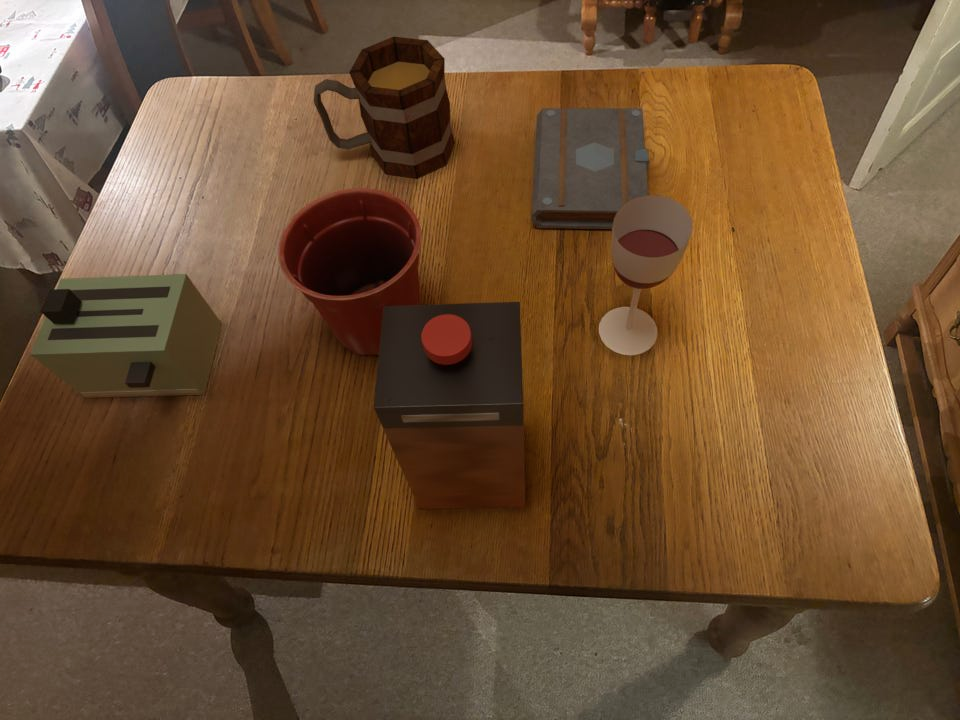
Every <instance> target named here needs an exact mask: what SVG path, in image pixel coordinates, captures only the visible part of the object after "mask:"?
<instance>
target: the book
mask: <svg viewBox="0 0 960 720" xmlns="http://www.w3.org/2000/svg"><path fill="white" fill-rule="evenodd" d="M535 123H536V124H535V142H534V158H533V159H534V161H533V175H532V176H533V178H532V195H531V212H530V213H531V215H530V217H531V218H530V221H531V222H532V223H533V224H534V226H535V227H536V228H537V229H578V230H612V228H613V222H614V218H615V216H616V214H617V212H618V211H619V209H620V208H621V207H622V206H623V205H625V204H626V203H627V202H629V201H631V200H633V199H635V198H638V197H642V196H648V195H649V187H648V170H649V165H650V154H649V153H650V152H649V151H650V150H649V149H647V148H646V141H645V126H644V125H645V123H644V109H643V108H641V107H639V108H638V107H637V108H634V107H633V108H632V107H631V108H628V107H627V108H626V107H625V108H624V107H623V108H621V107H618V108H617V107H615V108H613V107H612V108H611V107H609V108H608V107H607V108H606V107H603V108H602V107H596V108H595V107H593V108H592V107H591V108H587V107H584V108H582V107H580V108H579V107H578V108H577V107H572V108H571V107H567V108H564V107H563V108H562V107H558V108H556V107H555V108H553V107H552V108H551V107H548V108H546V107H544V108H543V107H542V109H540V111H539V112H538V113H537V114H536V122H535Z"/></svg>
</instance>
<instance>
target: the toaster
mask: <svg viewBox="0 0 960 720" xmlns="http://www.w3.org/2000/svg"><path fill="white" fill-rule="evenodd" d="M56 289H70V290H71V291H72V292H73V293H74V294H75V295H76V296H77V297H78V298H79V299H80V300H81V301H82V303H81V305H80V308H79V311H78V313H77V316H76V318H75V321H74V323H73V324H53V323H52V322H51V321H50V320H49V319H48V318H47V317H46V316H45V315H44V316H45V317H44V319H43V322H42V324H41V326H40V328H39V332H38V334H37V336H36V339H35V340H34V343H33V346H32V348H31V351H30V353H29V355H30V356H31V357H32V358H33V359H35V360H36V361H37V362H39V363H40V364H41V365H42V366H44V367H45V369H48V370H49V371H50V372H51V373H53V374H54V375H55V376H56V377H57V378H58V379H60V380H61V381H63V382H64V383H66V385H68V387H70V388H72V389H73V390H74V391H76V393H78V394H79V395H80V396H82V397H83V398H85V399H90V398H91V399H93V398H127V397H128V398H130V397H133V398H134V397H166V396H167V397H169V396H203V395H204V396H205V395H206V391H207V387H208V382H209V378H210V375H211V370H212V365H213V362H214V359H215V355H216V350H217V345H218V343H219V342H218V341H219V337H220V333H221V328H222V325H223V323H222V322H221V320H220V319H219V317H218V316H217V315H216V313H215V312H214V310H213V309H212V307H211V306H210V305H209V303H208V302H207V301H206V299H205V298H204V296H203V295H202V294H201V292H200V291H199V289H198V288H197V287H196V285H195V284H194V283H193V281H192V280H191V279H190V277H189V276H188V274H186V273H178V274H177V273H176V274H175V273H174V274H173V273H172V274H151V275H150V274H149V275H148V274H147V275H125V276H97V277H95V276H93V277H69V278H68V277H67V278H60V279H59V282H58V285H57V286H56Z"/></svg>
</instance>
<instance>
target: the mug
mask: <svg viewBox="0 0 960 720" xmlns="http://www.w3.org/2000/svg"><path fill="white" fill-rule="evenodd" d="M445 59H446V58H445V57H444V56H443V55H442V54H441V52H439V50H438V49H436V47H435V46H434V45H432V43H431V42H430V41H429V40H428V39H420V38H410V37H403V36H391V37H389V38H387V39H384V40H381V41H379V42H376V43H374V44H372V45H370V46H366V47H363V48H362V49H361V50H360V51H359V53H358V55H357V57H356V60H355V61H354V62H353V64H352V66H351V68H350V70H349V72H348V73H349V76H350V78H351V80H352V83H353V85H354V87H350V86H347V85H345V84H344V83H342V82H340V80H339V81H338V80H334V79H328V78H325V79H324V80H322V81H320V82H318V83H317V84H315V85H314V90H313V91H314V92H313V104H314V107H315V108H316V111H317V112H318V113H317V114H319V116H320V119H321V122H322V124H323V127H324V130H325V132H326V134H327V138H328V139H329V141H330V142H331V143H332V145H334V146H335V147H336V148H337V149H339V150H340V149H341V150H346V151H349V150H352V149H355V148H357V147H361V146H365V145H368V144H369V146H370V154H371V155H370V156H371V157H372V158H373V160H374V161H375V162H376V163H377V165H378V166H379V167H380V169H381V170H382V172H383V173H384V174H385V175H387V176H395V177H401V178H408V179H415V180H418V179H420V178H422V177H425V176H427V175H428V174H431V173H433V172H435V171H438V170H440V169H442V168H444V167H446V166H447V164H448V162H449V159H450V157H451V154H452V152H453V149H454V147H455V144H456V141H455V137H454V133H453V130H452V121H451V103H450V98H449V94H448V89H447V84H446V83H447V82H446V77H445V76H446V75H445V69H446V68H445V67H446V65H445V61H446V60H445ZM327 91H330V92H334V93H337V94H338V95H341V97H343V98H346V99H348V100H358V106H359V110H360V111H359V112H360V118H361V119H362V122H363V125H364V127H365V129H366V132H364V133H361V134H358V135H355V136H352V137H351V138H348V139H346V138H341V137H339V135H337V133H336V132H335V131H334V128H333V125H332V122H331V119H330V116H329V113H328V110H327V109H326V107H325V106H324V103H323V101H322V94H323V93H325V92H327Z"/></svg>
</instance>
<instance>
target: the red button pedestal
mask: <svg viewBox="0 0 960 720" xmlns="http://www.w3.org/2000/svg"><path fill="white" fill-rule="evenodd" d="M445 314H451V315H456V316H459V317H461V318H462V319H464V320H465V321H466V322H467V324H468V325H469V327H470V330H471V336H472V348H471V350H470V352H469V354H468V355H467V356H466V357H465V358H464V359H463V360H461V361H460V362H457V363H455V364H450V365H443V364H438V363H436V362H434V361H432V360H431V359H429V358H428V356H427V355H426V353H425V351H424V348H423V344H422V339H421V334H422V330H423V328H424V326H425V325H426V324H427V323H428V322H429V321H430V320H431V319H433V318H434V317H437V316H440V315H445ZM521 322H522V321H521V302H520V301H501V302H499V301H497V302H495V301H494V302H470V303H469V302H468V303H439V304H438V303H437V304H422V305H407V306H384V307H383V315H382V326H381V337H380V347H379V355H378V358H377V359H378V360H377V370H376V371H377V372H376V379H375V393H374V402H373V409H374V412H375V413H376V416H377V417H378V421H379V422H380V423H379V424H381V427H382V429H383V432H384V434H385V436H386V438H387V440H388V442H389V445H390V447H391V449H392V451H393V454H394V455H395V459H396V460H397V463H398V465H399V467H400V470H401V471H402V474H403V476H404V478H405V480H406V482H407V484H408V486H409V489H410V491H411V493H412V496H413V497H414V500H415V502H416V504H417V506H418V508H419V510H441V509H443V510H446V509H451V510H452V509H498V508H499V509H501V508H503V509H505V508H509V509H510V508H512V509H513V508H525V507H526V491H525V490H526V489H525V488H526V487H525V486H526V485H525V484H526V482H525V425H524V424H525V422H524V421H525V419H524V417H525V416H524V384H523V383H524V380H523V379H524V378H523V351H522V350H523V348H522V323H521Z"/></svg>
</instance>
